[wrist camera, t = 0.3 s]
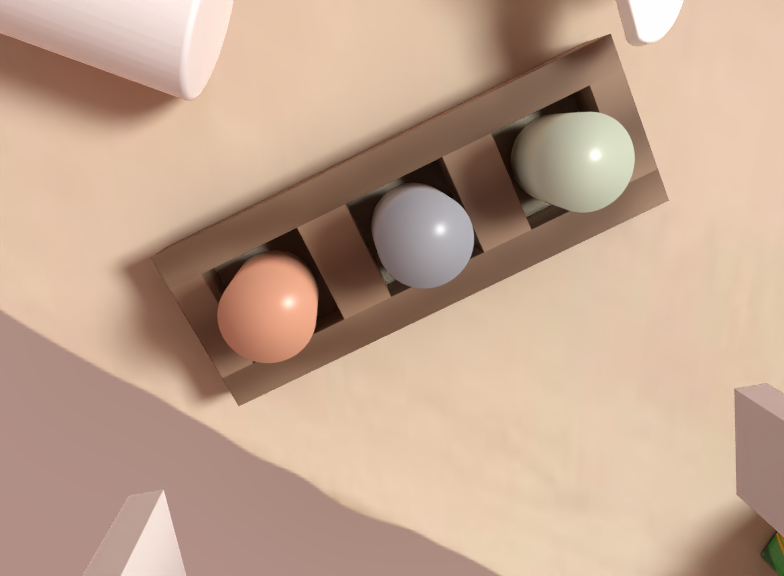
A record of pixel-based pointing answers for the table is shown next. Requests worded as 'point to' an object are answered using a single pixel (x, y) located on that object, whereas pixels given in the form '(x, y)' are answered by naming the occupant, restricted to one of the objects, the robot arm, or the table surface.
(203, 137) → the table surface
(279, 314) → the peach rounded piece
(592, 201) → the sage button
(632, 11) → the piggy bank
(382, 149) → the brown wooden slot rack
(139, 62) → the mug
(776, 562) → the chalk box
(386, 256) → the slate button
